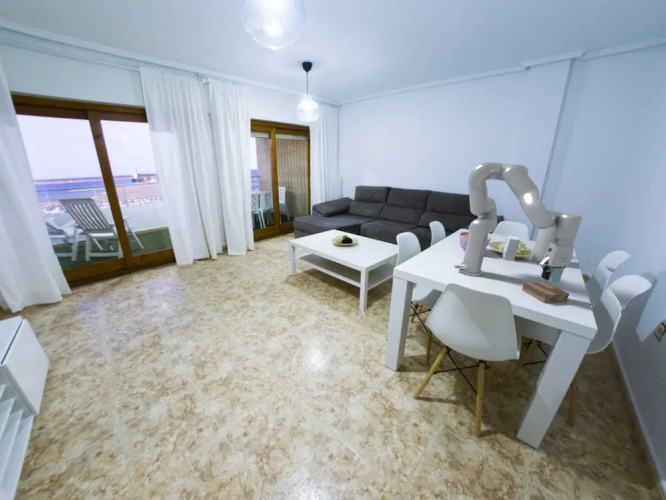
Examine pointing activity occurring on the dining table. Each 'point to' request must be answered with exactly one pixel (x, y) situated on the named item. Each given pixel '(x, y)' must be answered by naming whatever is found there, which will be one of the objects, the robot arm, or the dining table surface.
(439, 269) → the dining table surface
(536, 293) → the walnut plinth
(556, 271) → the teal block
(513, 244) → the skincare box
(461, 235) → the bowl of food
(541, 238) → the cylinder vase
